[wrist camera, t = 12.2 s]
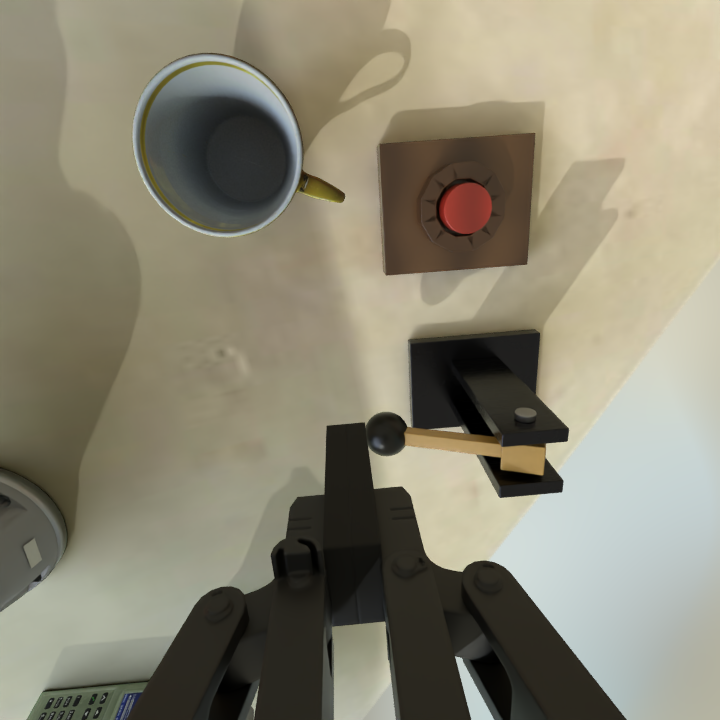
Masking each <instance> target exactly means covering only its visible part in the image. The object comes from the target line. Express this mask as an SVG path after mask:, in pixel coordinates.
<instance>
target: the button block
mask: <svg viewBox="0 0 720 720" xmlns="http://www.w3.org/2000/svg"><path fill="white" fill-rule="evenodd" d="M534 145H535V133H528V134H513V135H499V136H485V137H471V138H457V139H442V140H428V141H414V142H400V143H386V144H379V145H378V146H377V156H378V176H379V196H380V216H381V236H382V256H383V271H384V273H385V274H386V275H399V274H411V273H424V272H437V271H450V270H463V269H476V268H488V267H501V266H514V265H526V264H527V260H528V244H529V227H530V211H531V194H532V178H533V161H534ZM459 183H476V184H479V185H481V186H482V187H484V188H485V189H486V190H487V191H488V193H489V195H490V197H491V201H492V212H491V215H490V218H489V220H488V221H487V223H486V224H485V225H484V226H483V227H482V228H481V229H480V230H478V231H476V232H474V233H471V234H461V233H458V232H455V231H452V230H450V229H449V228H447V227H446V226H445V225H444V223H443V222H442V220H441V218H440V214H439V206H440V201H441V199H442V197H443V195H444V194H445V192H446V191H447V190H448V189H449V188H451V187H452V186H454V185H456V184H459Z"/></svg>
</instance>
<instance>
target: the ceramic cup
mask: <svg viewBox="0 0 720 720" xmlns="http://www.w3.org/2000/svg"><path fill="white" fill-rule="evenodd" d="M132 142H133V151H134V156H135V160H136V164H137V167H138V170H139V172H140V175H141V177H142V179H143V182H144V183H145V185H146V187H147V189H148V190H149V192H150V193H151V195H152V196H153V198H154V199H155V200H156V201H157V203H158V204H159V205H160V206H161V207H162V208H163V209H164V210H165V211H166V212H167V213H168V214H169V215H170V216H172V217H173V218H174V219H175V220H177V221H178V222H180V223H181V224H183V225H185V226H187V227H189V228H190V229H192V230H195V231H197V232H200V233H203V234H207V235H211V236H217V237H237V236H243V235H247V234H251V233H254V232H256V231H259V230H260V229H262V228H264V227H266V226H268V225H269V224H270V223H272V222H273V221H274V220H276V219H277V218H278V217H279V216H280V215H281V214H282V213H283V212H284V210H285V209H286V208H287V206H288V205H289V203H290V202H291V200H292V198H293V196H294V194H295V193H296V192H300V193H303V194H305V195H308V196H310V197H313V198H317V199H321V200H326V201H331V202H339V203H341V202H343V201H344V199H345V194H344V193H343V192H342V191H340V190H339V189H337V188H336V187H334V186H333V185H331V184H329V183H327V182H326V181H324V180H322V179H320V178H318V177H315V176H312V175H309V174H307V173H305V172H304V171H303V169H302V166H303V143H302V137H301V132H300V128H299V125H298V122H297V119H296V117H295V114H294V112H293V110H292V108H291V106H290V104H289V102H288V100H287V99H286V97H285V96H284V94H283V93H282V92H281V90H280V89H279V88H278V87H277V86H276V84H275V83H274V82H273V81H272V80H271V79H270V78H269V77H268V76H266V75H265V74H264V73H263V72H261V71H260V70H259V69H257V68H256V67H254V66H252V65H251V64H249V63H247V62H245V61H243V60H240V59H238V58H235V57H232V56H228V55H224V54H217V53H200V54H193V55H188V56H185V57H182V58H179V59H177V60H175V61H173V62H171V63H170V64H168V65H167V66H165V67H164V68H163V69H161V70H160V71H159V72H158V73H157V74H156V75H155V76H154V77H153V78H152V79H151V80H150V82H149V83H148V85H147V86H146V87H145V89H144V91H143V93H142V95H141V96H140V98H139V101H138V104H137V107H136V110H135V114H134V119H133V127H132Z"/></svg>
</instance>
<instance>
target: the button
mask: <svg viewBox="0 0 720 720" xmlns="http://www.w3.org/2000/svg"><path fill="white" fill-rule="evenodd" d="M491 212H492V201H491V197H490V195H489V193H488V191H487V190H486V189H485V188H484V187H482V186H481V185H479V184H476V183H459V184H456V185H454V186H452V187H451V188H449V189H448V190H447V191H446V192H445V194H444V195H443V197H442V199H441V201H440V206H439V214H440V218H441V220H442V222H443V223H444V225H445V226H446V227H447V228H449V229H450V230H452V231H455V232H458V233H461V234H471V233H474V232H476V231H478V230H480V229H481V228H482V227H483V226H484V225H485V224H486V223H487V221H488V220H489V218H490V215H491Z"/></svg>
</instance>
